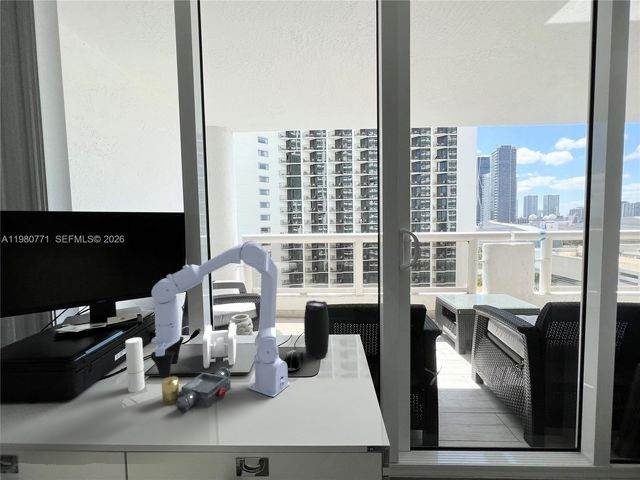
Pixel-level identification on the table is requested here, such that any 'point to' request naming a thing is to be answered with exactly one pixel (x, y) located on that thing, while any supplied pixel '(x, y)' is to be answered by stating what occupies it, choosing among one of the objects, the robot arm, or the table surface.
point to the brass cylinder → (170, 390)
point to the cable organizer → (219, 344)
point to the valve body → (204, 390)
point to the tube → (135, 364)
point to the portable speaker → (316, 329)
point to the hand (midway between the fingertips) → (169, 370)
